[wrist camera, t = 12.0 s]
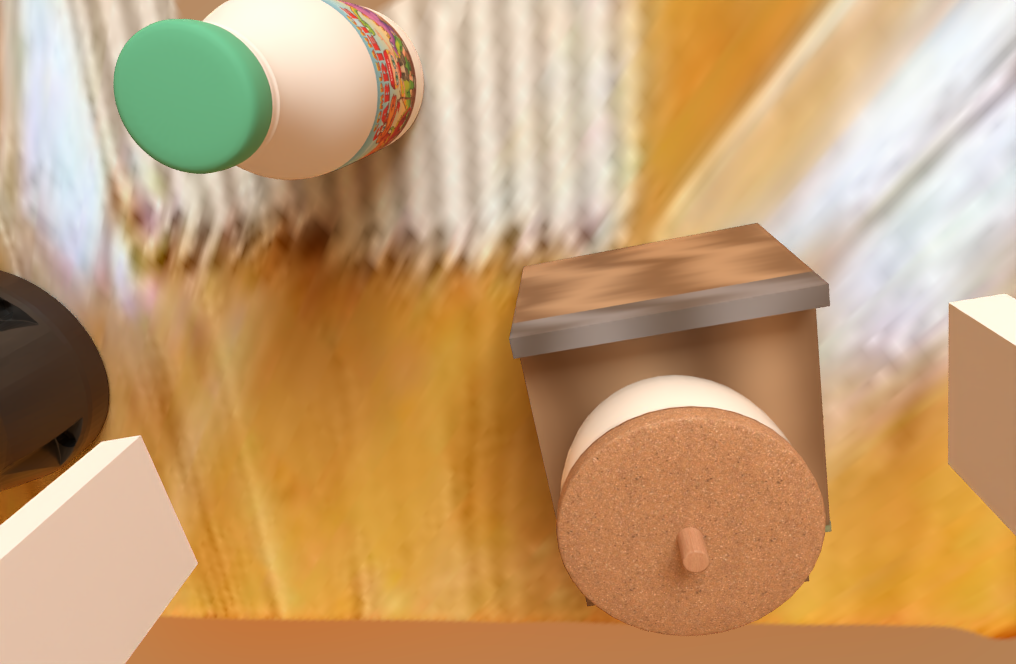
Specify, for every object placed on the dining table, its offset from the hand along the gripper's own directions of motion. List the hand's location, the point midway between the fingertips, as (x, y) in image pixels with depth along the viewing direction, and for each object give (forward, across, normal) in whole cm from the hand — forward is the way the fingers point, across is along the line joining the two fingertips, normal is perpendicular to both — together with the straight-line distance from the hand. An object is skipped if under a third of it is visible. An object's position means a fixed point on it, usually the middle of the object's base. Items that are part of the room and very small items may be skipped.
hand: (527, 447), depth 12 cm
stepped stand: (+32, +4, -16) cm, 36 cm away
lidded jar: (+22, +3, -13) cm, 26 cm away
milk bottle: (+32, -10, +7) cm, 34 cm away
